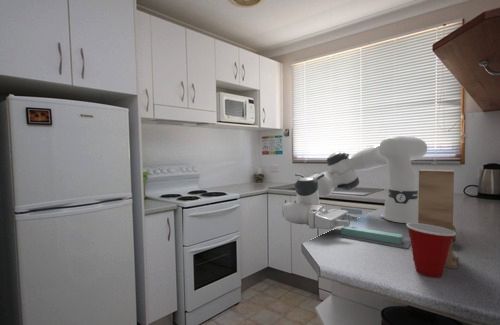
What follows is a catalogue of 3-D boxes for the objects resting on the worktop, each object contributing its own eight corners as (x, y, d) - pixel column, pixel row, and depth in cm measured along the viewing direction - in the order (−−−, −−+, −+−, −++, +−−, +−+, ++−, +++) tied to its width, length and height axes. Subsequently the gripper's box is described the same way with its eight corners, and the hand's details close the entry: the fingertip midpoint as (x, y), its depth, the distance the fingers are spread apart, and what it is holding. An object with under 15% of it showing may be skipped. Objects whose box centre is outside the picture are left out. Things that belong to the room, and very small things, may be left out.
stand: (417, 249, 87) (418, 169, 87) (456, 256, 81) (458, 169, 81) (413, 260, 78) (414, 170, 78) (456, 269, 72) (458, 171, 72)
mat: (347, 231, 108) (347, 230, 108) (411, 242, 95) (411, 240, 95) (340, 237, 101) (340, 235, 101) (408, 249, 88) (408, 248, 88)
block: (344, 231, 107) (344, 225, 107) (402, 241, 95) (402, 234, 95) (341, 234, 103) (341, 227, 103) (400, 244, 91) (400, 237, 91)
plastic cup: (467, 281, 65) (468, 232, 65) (424, 283, 65) (425, 233, 64) (433, 263, 76) (434, 221, 76) (396, 264, 75) (397, 221, 75)
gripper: (327, 219, 119) (360, 223, 111) (307, 229, 103) (344, 235, 95) (327, 204, 119) (360, 208, 111) (307, 212, 103) (344, 217, 94)
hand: (353, 221), depth 102 cm, fingers open, 8 cm apart
